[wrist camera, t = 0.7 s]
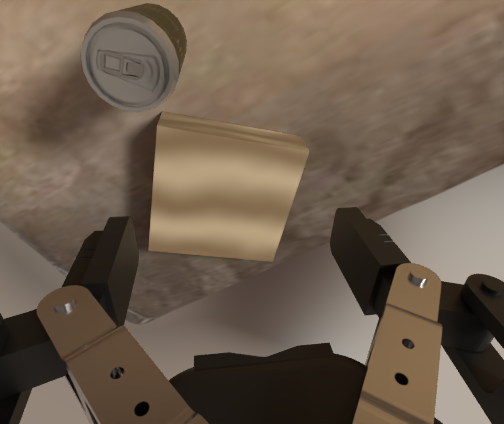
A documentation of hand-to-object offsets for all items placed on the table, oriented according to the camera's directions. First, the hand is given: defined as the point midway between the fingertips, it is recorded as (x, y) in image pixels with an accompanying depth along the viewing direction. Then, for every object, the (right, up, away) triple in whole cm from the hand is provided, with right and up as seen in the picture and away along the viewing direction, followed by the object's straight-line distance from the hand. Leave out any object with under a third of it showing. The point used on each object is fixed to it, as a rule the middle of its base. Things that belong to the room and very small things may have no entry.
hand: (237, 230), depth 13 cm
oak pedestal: (-3, +4, +24) cm, 24 cm away
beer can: (-8, +16, +15) cm, 23 cm away
